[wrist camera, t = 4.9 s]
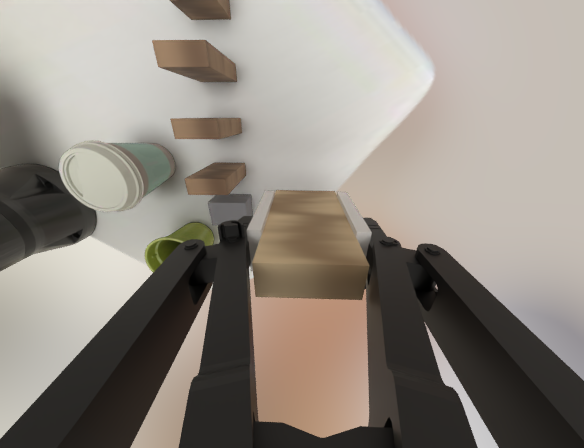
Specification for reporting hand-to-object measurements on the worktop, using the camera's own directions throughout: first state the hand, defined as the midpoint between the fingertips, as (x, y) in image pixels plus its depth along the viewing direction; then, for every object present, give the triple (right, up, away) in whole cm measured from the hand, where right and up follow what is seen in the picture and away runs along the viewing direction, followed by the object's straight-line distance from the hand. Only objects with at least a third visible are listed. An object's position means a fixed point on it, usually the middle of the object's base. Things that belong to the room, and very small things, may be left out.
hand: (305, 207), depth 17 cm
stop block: (-11, +2, +20) cm, 23 cm away
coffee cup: (-23, +9, +18) cm, 31 cm away
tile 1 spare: (0, +1, +1) cm, 1 cm away
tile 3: (-11, +19, +12) cm, 25 cm away
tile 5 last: (-11, +8, +18) cm, 22 cm away
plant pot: (-19, -4, +24) cm, 31 cm away
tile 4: (-11, +14, +15) cm, 23 cm away
